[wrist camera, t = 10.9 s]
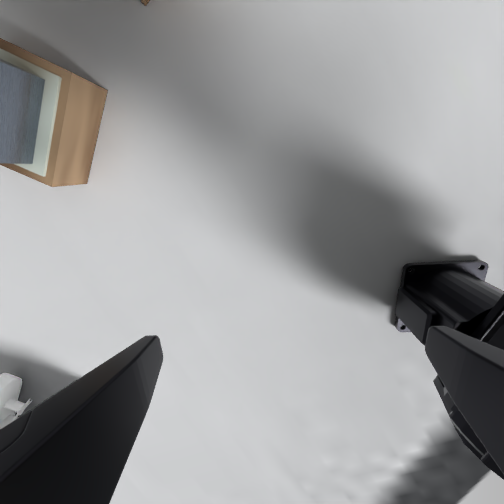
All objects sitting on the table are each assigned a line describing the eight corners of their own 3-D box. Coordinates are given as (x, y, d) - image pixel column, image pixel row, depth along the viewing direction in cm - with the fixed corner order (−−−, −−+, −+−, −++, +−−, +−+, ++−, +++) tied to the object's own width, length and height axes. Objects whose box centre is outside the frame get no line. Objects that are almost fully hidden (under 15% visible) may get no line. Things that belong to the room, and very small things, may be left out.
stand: (107, 90, 18) (69, 71, 14) (87, 183, 20) (49, 187, 16) (7, 42, 17) (-59, 9, 13) (-3, 144, 19) (-62, 139, 16)
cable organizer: (16, 352, 26) (-169, 492, 15) (114, 390, 27) (12, 545, 16) (-4, 442, 30) (-155, 599, 19) (81, 470, 31) (-16, 634, 20)
